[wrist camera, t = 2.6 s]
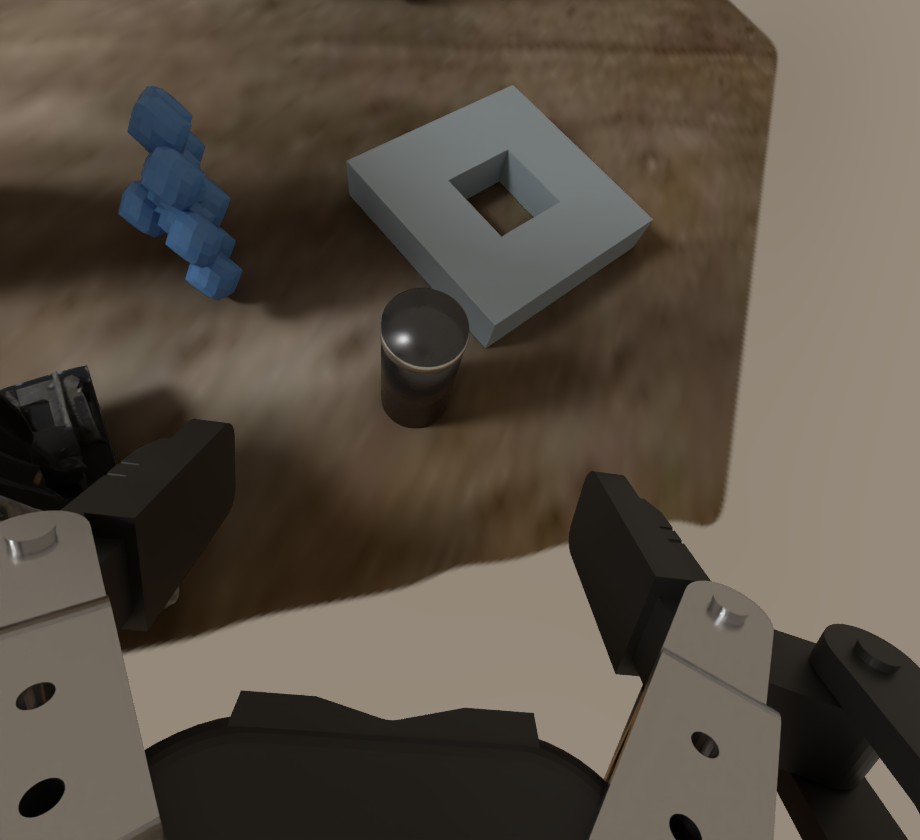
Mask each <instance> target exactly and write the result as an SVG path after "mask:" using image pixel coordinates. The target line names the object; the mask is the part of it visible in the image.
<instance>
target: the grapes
mask: <svg viewBox="0 0 920 840" xmlns="http://www.w3.org/2000/svg"><path fill="white" fill-rule="evenodd" d="M191 119H192V115H191V114H190V113H189V112H188V111H187V110H186V109H185V108H184V107H183V106H182V105H181V104H180V103H179V102H178V101H177V100H176V99H175V98H174V97H173V96H171V95H170V94H168V93H167V92H166V91H164V90H163V89H161V88H158V87H155V86H147V87H146V89H145V90H144V91H143V93H142V94H141V95H140V97H139V98H138V101H137V103H136V104H135V106H134V107H133V110H132V114H131V118H130V122H129V127H128V133H129V134H130V135H131V136H132V137H134V138H135V139H136V140H137V141H138V142H139V143H140V144H141V145H142V146H144V147H145V149H146V150H147V151H148V152H149V155H148V156H147V158H146V159H145V163H144V165H143V169H142V173H141V176H142V177H143V178H142V181H135V182H131V183H130V184H129V185H128V187H127V188H126V190H125V191H124V193H123V196H122V200H121V204H120V208H119V212H118V214H119V215H120V216H121V217H122V218H124V219H125V220H126V221H127V222H128V223H130V224H131V225H132V226H134V227H135V228H136V229H137V230H139V231H141V232H143V233H145V234H147V235H149V236H152V237H154V238H155V237H159V236H162V235H163V234H165V233H167V234H168V236H167V240H166V243H165V244H166V245H167V246H168V247H169V248H170V249H172V250H173V251H174V252H175V253H176V254H178V255H179V256H180V257H181V258H183V259H184V260H185V261H187V262H189V263H190V265H189V268H188V271H187V275H186V278H185V280H186V281H188V282H189V283H190V284H191V285H192V286H193V287H195V288H196V289H197V290H199V291H200V292H201V293H203V294H204V295H206V296H208V297H210V298H213V299H216V300H220V299H222V298H225V297H227V296H229V295H231V294H233V293H234V291H235V289H236V287H237V285H238V282H239V280H240V277H241V274H242V271H243V270H242V269H241V268H240V267H239V266H238V265H237V264H236V263H234V262H233V261H232V260H231V259H230V257H231V254H232V252H233V249H234V246H235V242H236V240H235V239H233V238H232V237H231V236H230V235H229V234H228V233H227V232H226V231H225V230H223V229H222V228H221V227H220V224H221V222H222V221H223V219H224V217H225V214H226V212H227V209H228V206H229V202H230V199H231V198H230V197H229V196H228V195H227V194H226V193H225V192H224V191H223V190H222V189H221V188H220V187H218V186H217V185H216V184H215V183H214V182H213V181H211V180H210V179H208V178H206V174H205V173H204V172H203V171H202V170H201V169H200V163H201V159H202V156H203V152H204V149H205V145H204V144H203V143H202V142H201V141H200V140H199V139H198V138H197V137H196V136H195V135H194V134H192V133H191V132H190V129H191V124H190V123H191Z"/></svg>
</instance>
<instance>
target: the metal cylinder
mask: <svg viewBox="0 0 920 840" xmlns="http://www.w3.org/2000/svg"><path fill="white" fill-rule="evenodd" d="M380 339H381V400H382V405H383V408H384V410H385V412H386V413H387V415H388V416H389V417H390V418H391V419H392V420H393V421H394V422H396V423H397V424H399V425H401V426H404V427H408V428H422V427H426V426H429V425H431V424H433V423H434V422H436V421H437V420H438V419H439V418H440V417H441V415H442V414H443V412H444V410H445V408H446V405H447V402H448V399H449V395H450V392H451V389H452V386H453V383H454V380H455V377H456V374H457V370H458V367H459V364H460V361H461V358H462V355H463V353H464V351H465V348H466V345H467V342H468V339H469V322H468V318H467V315H466V313H465V311H464V310H463V308H462V307H461V305H460V304H459V303H458V302H457V301H456V300H455V299H453V298H452V297H451V296H449V295H447V294H445V293H443V292H441V291H438V290H435V289H430V288H415V289H410V290H407V291H404V292H402V293H400V294H398V295H397V296H395V297H394V298H393V299H392V300H391V301H390V302H389V303H388V304H387V306H386V307H385V309H384V312H383V314H382V318H381V323H380Z"/></svg>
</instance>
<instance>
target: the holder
mask: <svg viewBox="0 0 920 840" xmlns="http://www.w3.org/2000/svg"><path fill="white" fill-rule="evenodd" d="M347 174H348V186H349V195H350V196H351V197H352V198H353V199H354V201H355V202H356V203H357V204H358V205H359V206H360V207H361V209H362V210H363V211H364V212H365V213H366V214H367V215H368V216H369V218H370V219H371V220H372V221H373V222H374V223H375V224H376V225H377V227H378V228H379V229H380V230H381V231H382V232H383V233H384V235H385V236H386V237H387V238H388V239H389V240H390V241H391V242H392V244H393V245H394V246H395V247H396V248H397V249H398V250H399V251H400V253H401V254H402V255H403V256H404V257H405V258H406V259H407V260H408V262H409V263H410V264H411V265H412V266H413V267H414V268H415V270H416V271H417V272H418V273H419V274H420V275H421V276H422V277H423V279H424V280H425V281H426V282H427V283H428V284H429V285H430V286H431V288H432V289H435V290H438V291H441V292H443V293H445V294H447V295H449V296H451V297H452V298H453V299H455V300H456V301H457V302H458V303H459V304H460V305H461V307H462V308H463V310H464V311H465V313H466V315H467V318H468V322H469V331H470V332H471V333H472V334H473V335H474V336H475V337H476V338H477V340H478V341H479V342H480V343H481V344H482V345H483V346H484V347H485V349H486V348H487V347H489V346H490V345H492V344H493V343H494V342H496V341H497V340H499V339H500V338H502V337H503V336H505V335H506V334H508V333H509V332H510V331H512V330H513V329H515V328H516V327H518V326H519V325H521V324H522V323H524V322H525V321H527V320H528V319H529V318H531V317H532V316H534V315H535V314H537V313H538V312H540V311H541V310H543V309H544V308H545V307H547V306H548V305H550V304H551V303H553V302H554V301H556V300H557V299H559V298H560V297H562V296H563V295H564V294H566V293H567V292H569V291H570V290H572V289H573V288H575V287H576V286H578V285H579V284H580V283H582V282H583V281H585V280H586V279H588V278H589V277H591V276H592V275H594V274H595V273H597V272H598V271H599V270H601V269H602V268H604V267H605V266H607V265H608V264H610V263H611V262H613V261H614V260H615V259H617V258H618V257H620V256H621V255H623V254H624V253H626V252H627V251H629V250H630V249H632V248H633V247H634V246H635V244H636V243H637V242H638V240H639V239H640V237H641V236H642V234H643V233H644V232H645V230H646V229H647V227H648V226H649V224H650V223H651V222H652V220H653V219H652V218H651V217H650V216H649V215H648V214H647V213H646V212H645V211H644V210H643V209H641V208H640V207H639V206H638V205H637V204H636V203H635V202H634V201H633V200H632V199H631V198H630V197H629V196H628V195H627V194H626V193H625V192H624V191H623V190H622V189H621V188H620V187H619V186H618V185H616V184H615V183H614V182H613V181H612V180H611V179H610V178H609V177H608V176H607V175H606V174H605V173H604V172H603V171H602V170H601V169H600V168H599V167H598V166H597V165H596V164H595V163H594V162H593V161H591V160H590V159H589V158H588V157H587V156H586V155H585V154H584V153H583V152H582V151H581V150H580V149H579V148H578V147H577V146H576V145H575V144H574V143H573V142H572V141H571V140H570V139H569V138H568V137H566V136H565V135H564V134H563V133H562V132H561V131H560V130H559V129H558V128H557V127H556V126H555V125H554V124H553V123H552V122H551V121H550V120H549V119H548V118H547V117H546V116H545V115H544V114H543V113H541V112H540V111H539V110H538V109H537V108H536V107H535V106H534V105H533V104H532V103H531V102H530V101H529V100H528V99H527V98H526V97H525V96H524V95H523V94H522V93H521V92H520V91H519V90H518V89H516V88H515V87H514V86H513V85H512V86H510V87H507V88H505V89H503V90H501V91H499V92H497V93H494V94H492V95H490V96H488V97H486V98H483V99H481V100H479V101H477V102H475V103H472V104H470V105H468V106H466V107H464V108H461V109H459V110H457V111H455V112H453V113H450V114H448V115H446V116H444V117H442V118H440V119H437V120H435V121H433V122H431V123H429V124H426V125H424V126H422V127H420V128H418V129H415V130H413V131H411V132H409V133H407V134H404V135H402V136H400V137H398V138H396V139H393V140H391V141H389V142H387V143H385V144H382V145H380V146H378V147H376V148H374V149H372V150H369V151H367V152H365V153H363V154H361V155H358V156H356V157H354V158H352V159H350V160H347ZM498 182H500V183H501V184H502V185H503V186H504V187H505V188H506V189H507V190H508V191H509V192H510V193H511V194H512V195H513V196H514V197H515V198H516V199H517V201H518V202H519V203H520V204H521V205H522V206H523V207H524V208H525V209H526V210H527V211H528V212H529V213H530V214H531V215H532V216H533V217H534V218H532V219H530V220H529V221H527V222H525V223H524V224H522V225H520V226H519V227H517V228H515V229H514V230H512V231H510V232H509V233H507V234H505V235H503V236H502V237H501V236H500V235H499V234H498V232H497V231H496V230H495V229H494V228H493V227H492V226H491V225H490V224H489V223H488V222H487V221H486V220H485V219H484V218H483V217H482V216H481V215H480V213H479V212H478V211H477V210H476V209H475V208H474V207H473V206H472V205H471V204H470V203H469V202H468V201H467V200H466V199H468V198H470V197H472V196H474V195H475V194H477V193H479V192H481V191H483V190H485V189H487V188H488V187H490V186H492V185H494V184H496V183H498Z"/></svg>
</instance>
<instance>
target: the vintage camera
mask: <svg viewBox="0 0 920 840" xmlns="http://www.w3.org/2000/svg"><path fill="white" fill-rule="evenodd" d="M116 465H117V464H116V461H115V457H114V454H113V451H112V447H111V444H110V440H109V437H108V434H107V431H106V428H105V424H104V420H103V417H102V413H101V410H100V407H99V403H98V400H97V397H96V394H95V390H94V387H93V384H92V380H91V377H90V374H89V370H88V367H87V365H86V366H81V367H77V368H72V369H68V370H65V371H61V372H58V373H57V372H53V373H52V374H51V375H47V376H43V377H40V378H37V379H33V380H30V381H27V382H24V383H20V384H17V385H14V386H10V387H7V388H4V389H1V390H0V522H1V521H4V520H7V519H9V518H13V517H16V516H19V515H24V514H28V513H33V512H40V511H60V510H61V509H63V508H64V507H65V506H66V505H68V504H69V503H70V502H71V501H73V500H74V499H75V498H76V497H77V496H79V495H80V494H81V493H82V492H84V491H85V490H86V489H87V488H89V487H90V486H91V485H92V484H94V483H95V482H96V481H97V480H99V479H100V478H101V477H102V476H104V475H107V474H108V472H109V471H110V470H111V469H112V468H113V467H115V466H116ZM178 597H179V587H178V588H177V590H176V591H175V593H174V594H173V595H172V597H171V598H170V600H169V601H168V603H167V604H166V606H165V607H164V609H165V608H167V607H169V606H170V605H172V604H174V603H175V602H176V601H177V599H178Z"/></svg>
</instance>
